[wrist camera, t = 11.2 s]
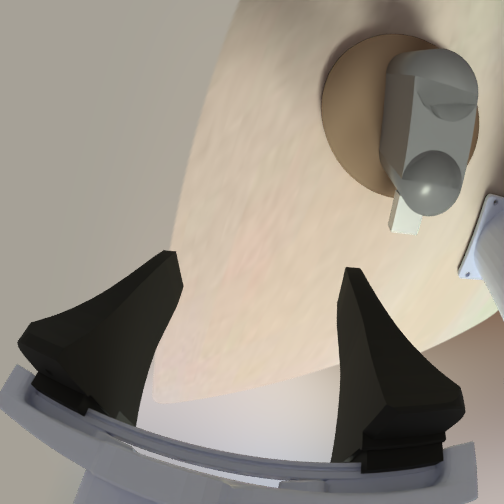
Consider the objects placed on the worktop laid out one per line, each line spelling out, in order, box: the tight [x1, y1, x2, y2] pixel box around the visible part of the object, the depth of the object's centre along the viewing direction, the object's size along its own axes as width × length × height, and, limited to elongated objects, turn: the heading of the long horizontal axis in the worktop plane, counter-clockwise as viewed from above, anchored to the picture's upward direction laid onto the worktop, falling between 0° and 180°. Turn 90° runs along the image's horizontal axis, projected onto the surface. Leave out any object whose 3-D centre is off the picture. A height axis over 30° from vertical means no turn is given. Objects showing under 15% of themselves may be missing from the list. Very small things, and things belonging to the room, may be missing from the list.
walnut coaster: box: [321, 34, 479, 198], centre depth 15 cm, size 11×11×1 cm
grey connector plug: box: [379, 49, 478, 235], centre depth 13 cm, size 11×4×5 cm, turn 1°
